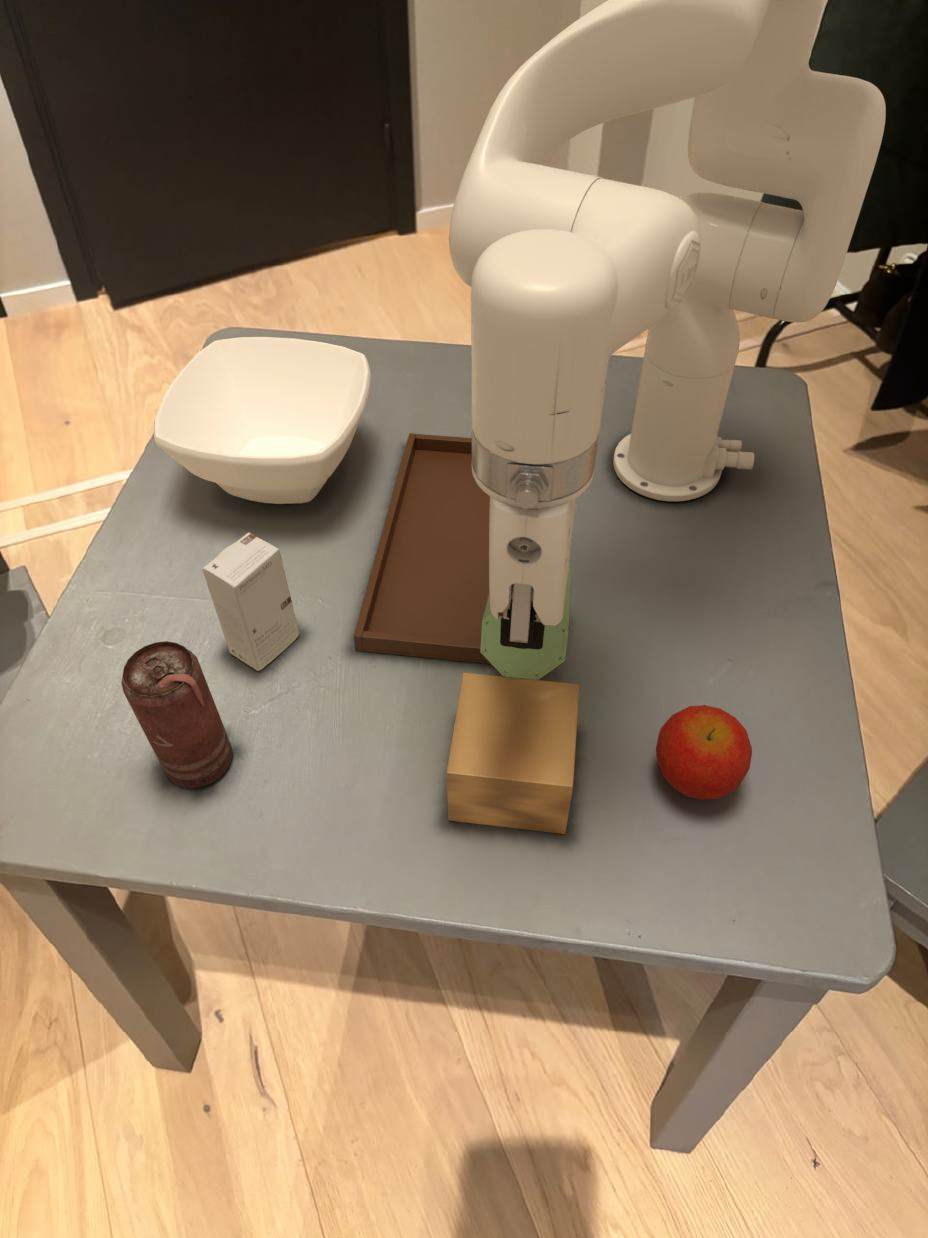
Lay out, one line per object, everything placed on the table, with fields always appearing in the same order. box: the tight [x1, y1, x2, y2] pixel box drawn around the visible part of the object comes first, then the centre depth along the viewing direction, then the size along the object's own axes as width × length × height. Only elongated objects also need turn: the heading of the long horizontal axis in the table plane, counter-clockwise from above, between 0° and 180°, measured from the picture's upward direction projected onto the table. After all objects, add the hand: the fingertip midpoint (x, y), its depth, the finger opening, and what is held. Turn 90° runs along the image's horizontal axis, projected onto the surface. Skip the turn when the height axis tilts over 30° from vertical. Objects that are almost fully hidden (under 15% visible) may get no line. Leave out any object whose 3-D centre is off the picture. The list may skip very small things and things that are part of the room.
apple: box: [655, 704, 753, 800], centre depth 76 cm, size 8×8×8 cm
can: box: [121, 640, 233, 789], centre depth 76 cm, size 6×6×14 cm
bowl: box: [153, 336, 372, 505], centre depth 102 cm, size 22×22×12 cm
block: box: [445, 672, 580, 835], centre depth 77 cm, size 10×10×8 cm
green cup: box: [480, 563, 573, 680], centre depth 81 cm, size 7×7×14 cm
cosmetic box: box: [201, 532, 300, 672], centre depth 85 cm, size 6×4×12 cm
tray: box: [353, 433, 492, 665], centre depth 97 cm, size 18×32×2 cm, turn 172°
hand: (522, 639), depth 68 cm, fingers closed
